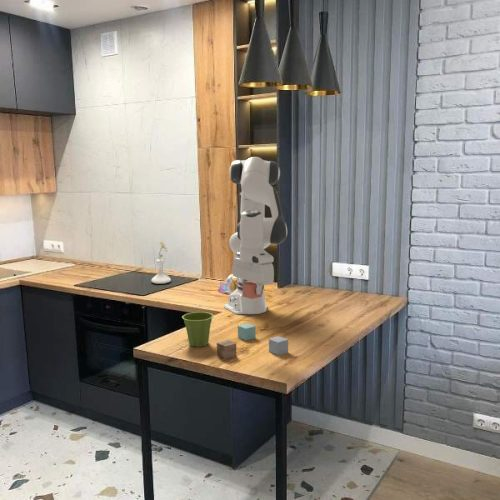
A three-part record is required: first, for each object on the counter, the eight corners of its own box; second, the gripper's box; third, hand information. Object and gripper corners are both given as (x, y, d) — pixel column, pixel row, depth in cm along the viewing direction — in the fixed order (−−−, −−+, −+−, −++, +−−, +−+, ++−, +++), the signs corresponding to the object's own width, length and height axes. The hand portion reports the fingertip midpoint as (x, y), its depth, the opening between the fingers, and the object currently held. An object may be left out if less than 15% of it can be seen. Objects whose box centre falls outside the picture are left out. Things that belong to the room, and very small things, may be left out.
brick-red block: (242, 296, 188) (242, 283, 188) (253, 294, 192) (253, 281, 191) (251, 299, 185) (251, 285, 184) (261, 296, 188) (261, 283, 187)
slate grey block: (268, 351, 188) (268, 338, 187) (279, 348, 191) (279, 336, 190) (277, 355, 184) (277, 342, 183) (288, 352, 187) (288, 339, 186)
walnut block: (217, 355, 184) (216, 342, 183) (228, 352, 187) (227, 339, 186) (225, 359, 180) (225, 346, 180) (236, 356, 183) (236, 343, 183)
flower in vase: (169, 285, 296) (168, 242, 292) (149, 285, 296) (148, 242, 292) (172, 280, 309) (171, 239, 305) (153, 280, 309) (152, 239, 305)
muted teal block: (237, 337, 204) (237, 325, 203) (247, 335, 207) (247, 323, 206) (245, 340, 200) (245, 328, 199) (255, 338, 203) (255, 326, 202)
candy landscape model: (267, 291, 280) (267, 275, 278) (230, 297, 268) (229, 280, 266) (243, 283, 301) (243, 268, 299) (208, 288, 288) (207, 272, 287)
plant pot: (198, 337, 204) (198, 309, 203) (220, 343, 197) (219, 315, 195) (176, 344, 196) (175, 316, 194) (198, 351, 188) (197, 322, 186)
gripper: (227, 252, 192) (228, 288, 194) (263, 260, 176) (263, 299, 178) (241, 251, 196) (241, 286, 198) (276, 258, 180) (276, 296, 182)
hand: (252, 292), depth 188 cm, fingers closed on brick-red block, 5 cm apart
